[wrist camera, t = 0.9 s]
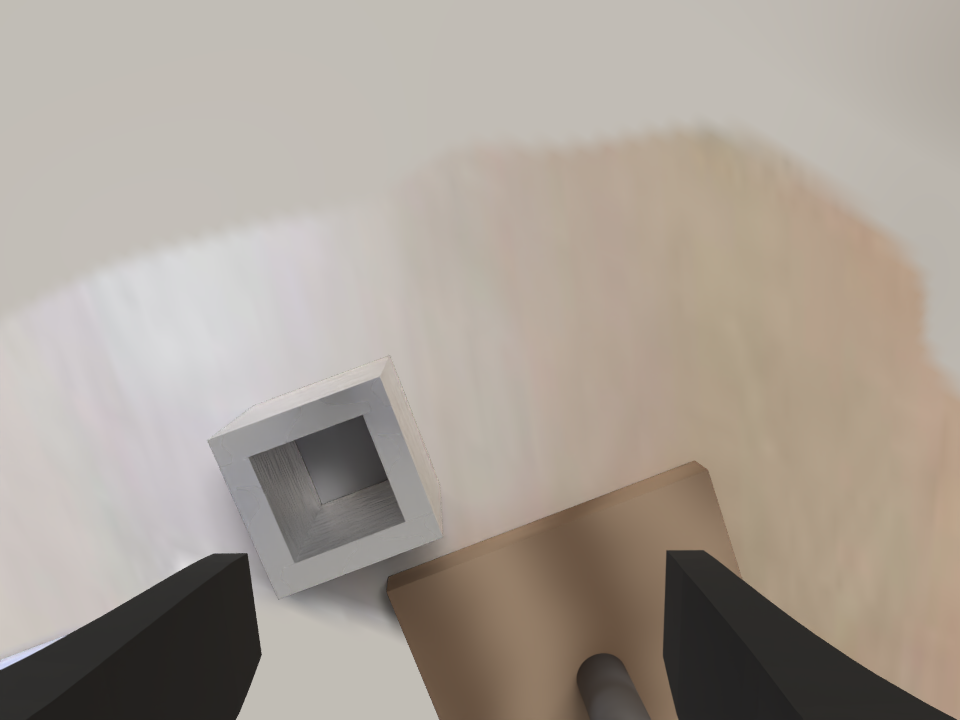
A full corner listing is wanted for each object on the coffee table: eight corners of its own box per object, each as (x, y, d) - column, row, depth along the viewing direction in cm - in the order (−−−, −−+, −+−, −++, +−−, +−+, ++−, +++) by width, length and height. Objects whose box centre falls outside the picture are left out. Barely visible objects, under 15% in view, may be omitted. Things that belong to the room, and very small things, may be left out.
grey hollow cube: (308, 533, 24) (278, 599, 19) (253, 405, 24) (207, 440, 19) (440, 484, 25) (443, 537, 20) (390, 355, 24) (379, 376, 19)
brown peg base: (498, 844, 27) (515, 978, 22) (388, 577, 25) (378, 655, 20) (781, 732, 27) (862, 839, 22) (694, 460, 25) (762, 508, 20)
